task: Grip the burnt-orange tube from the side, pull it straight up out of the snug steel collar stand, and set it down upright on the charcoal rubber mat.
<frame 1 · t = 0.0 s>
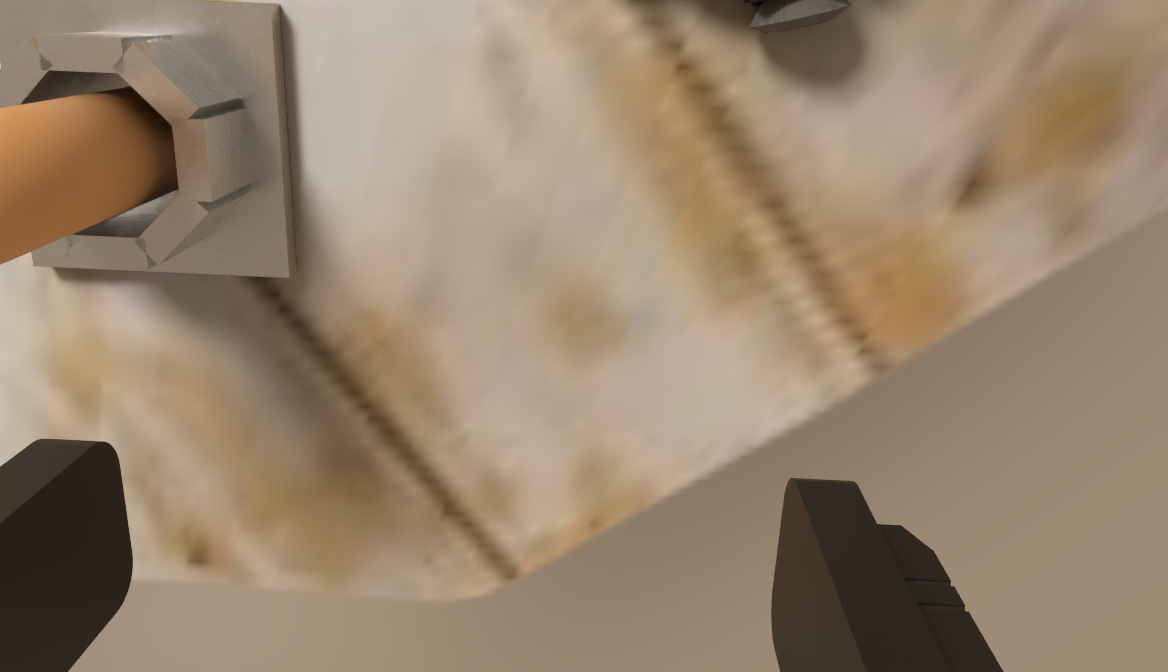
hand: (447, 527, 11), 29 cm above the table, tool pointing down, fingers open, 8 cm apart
tube: (146, 141, 38), point 1 cm above the table, touching collar stand
collar stand: (157, 138, 39), on the table
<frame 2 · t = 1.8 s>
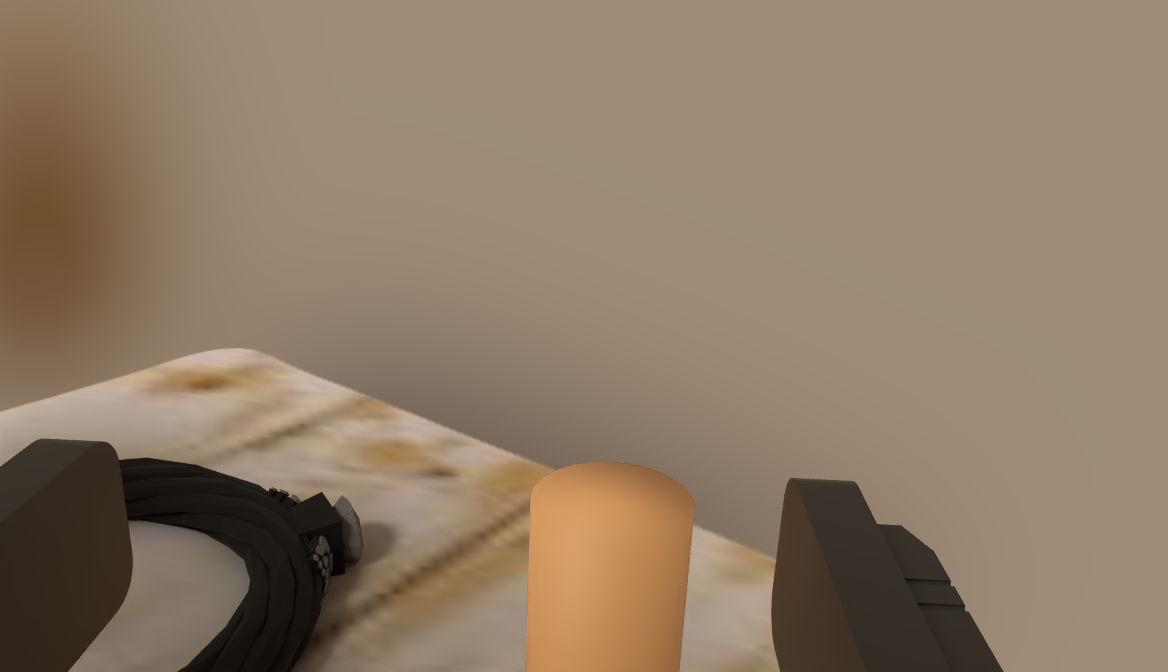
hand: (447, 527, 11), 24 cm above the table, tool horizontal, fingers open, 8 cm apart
cable lock: (53, 643, 45), on the table
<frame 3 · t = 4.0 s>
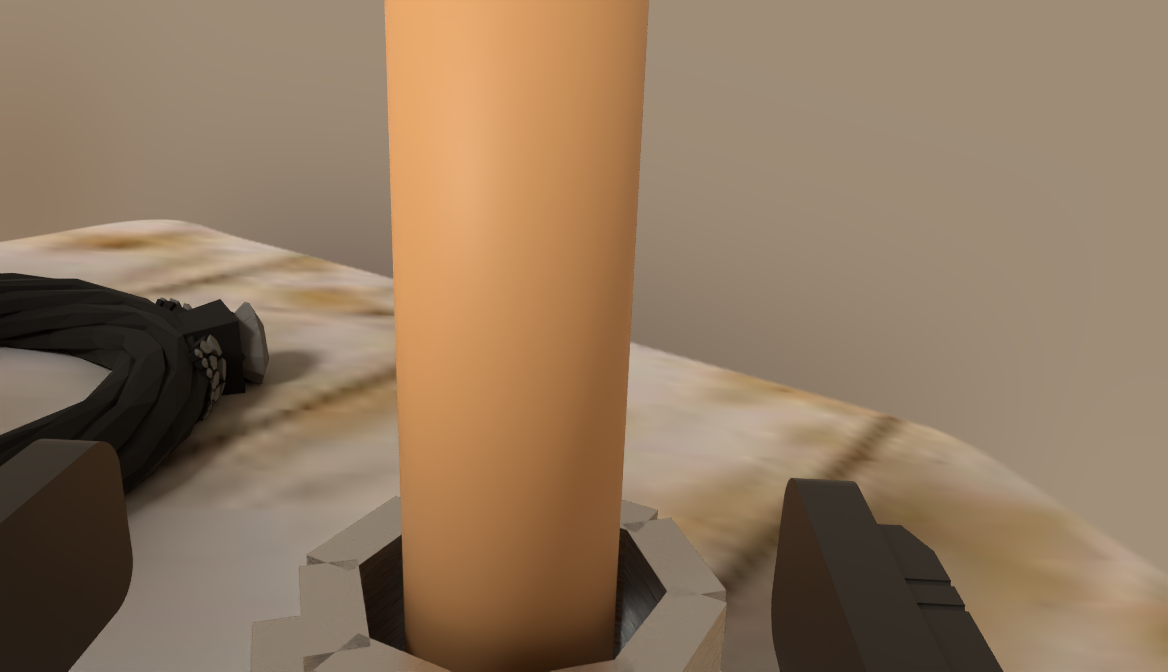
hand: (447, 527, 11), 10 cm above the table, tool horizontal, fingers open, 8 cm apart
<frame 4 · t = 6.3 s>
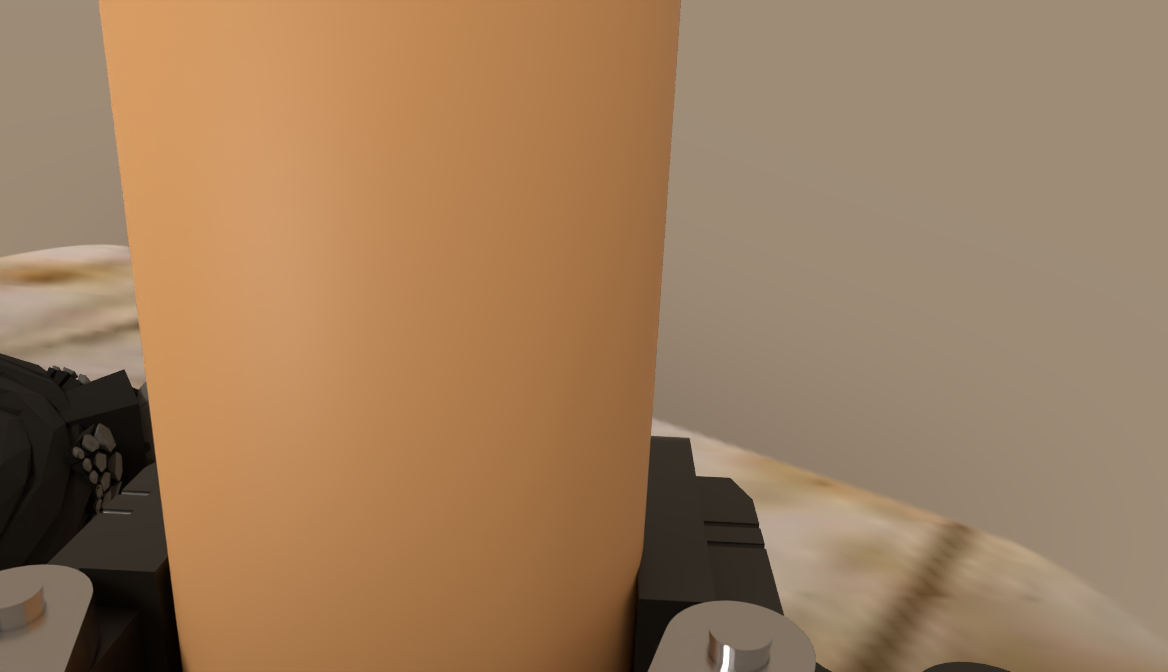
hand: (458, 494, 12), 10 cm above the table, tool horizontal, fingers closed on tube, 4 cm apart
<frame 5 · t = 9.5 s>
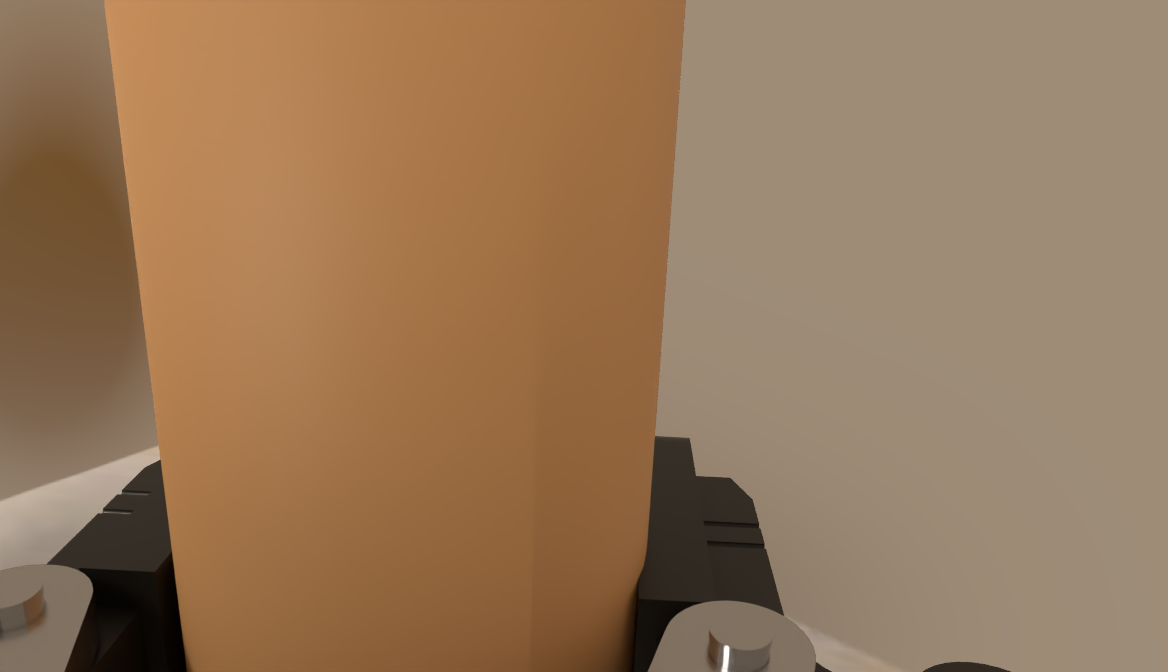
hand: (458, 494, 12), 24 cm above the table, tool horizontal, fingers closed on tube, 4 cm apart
when the fingers open (12 cm above the table, at t = 12.7 s): tube drops 1 cm, resting on mat.
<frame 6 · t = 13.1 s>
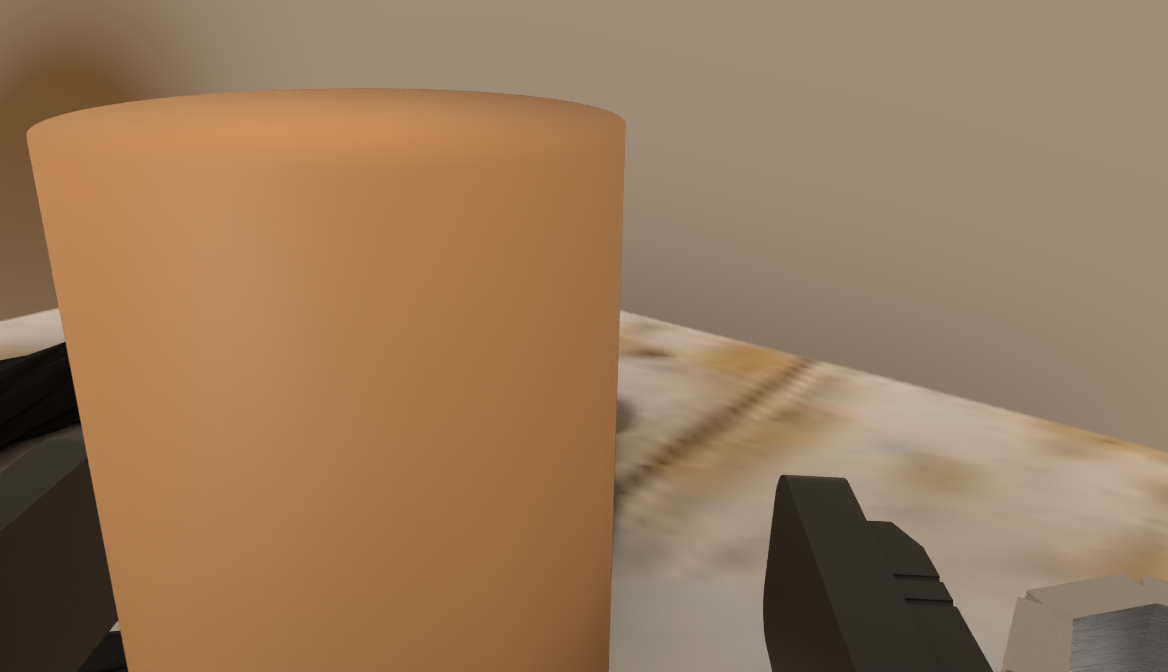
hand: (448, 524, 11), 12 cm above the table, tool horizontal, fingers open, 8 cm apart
cable lock: (253, 516, 35), on the table
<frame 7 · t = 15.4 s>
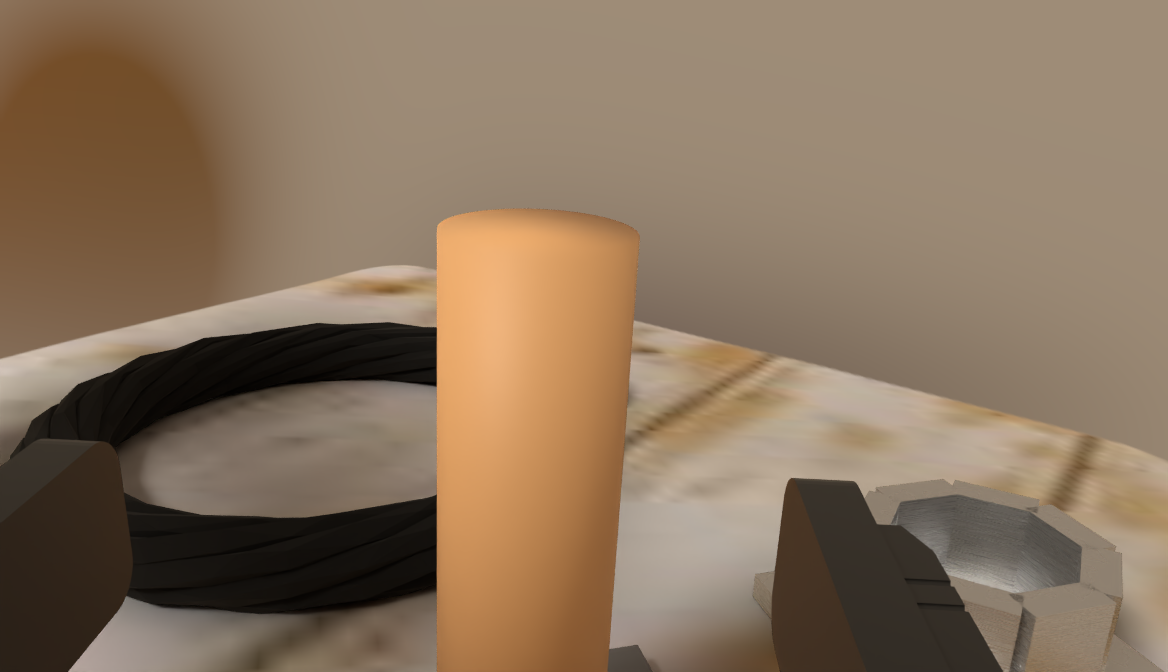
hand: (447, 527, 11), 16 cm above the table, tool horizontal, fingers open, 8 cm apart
cable lock: (351, 464, 48), on the table
collar stand: (960, 661, 34), on the table
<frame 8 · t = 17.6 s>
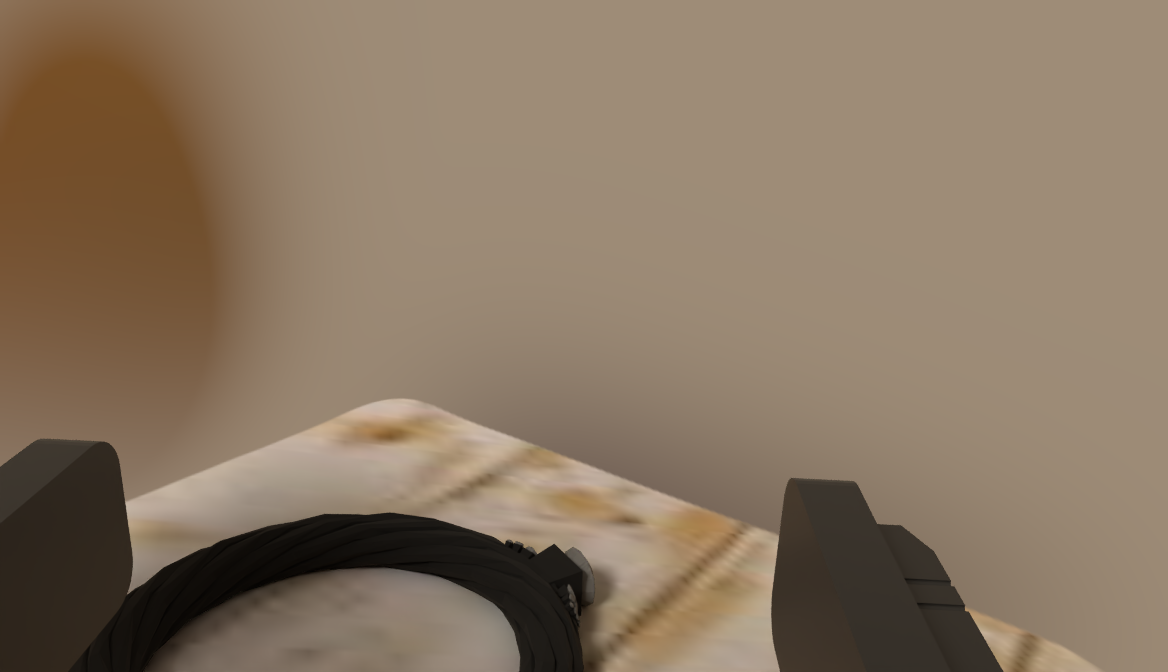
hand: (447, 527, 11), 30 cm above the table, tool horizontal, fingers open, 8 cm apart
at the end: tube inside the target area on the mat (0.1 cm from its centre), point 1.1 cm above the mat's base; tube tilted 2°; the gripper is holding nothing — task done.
